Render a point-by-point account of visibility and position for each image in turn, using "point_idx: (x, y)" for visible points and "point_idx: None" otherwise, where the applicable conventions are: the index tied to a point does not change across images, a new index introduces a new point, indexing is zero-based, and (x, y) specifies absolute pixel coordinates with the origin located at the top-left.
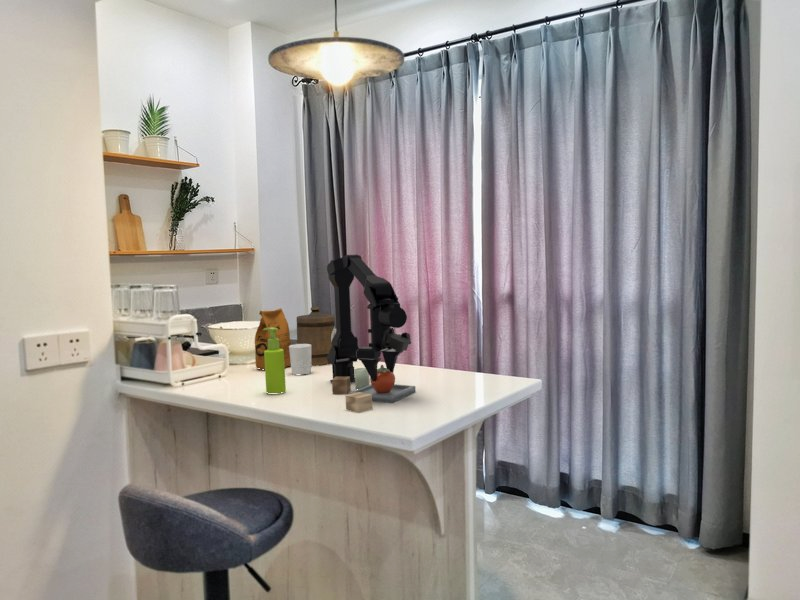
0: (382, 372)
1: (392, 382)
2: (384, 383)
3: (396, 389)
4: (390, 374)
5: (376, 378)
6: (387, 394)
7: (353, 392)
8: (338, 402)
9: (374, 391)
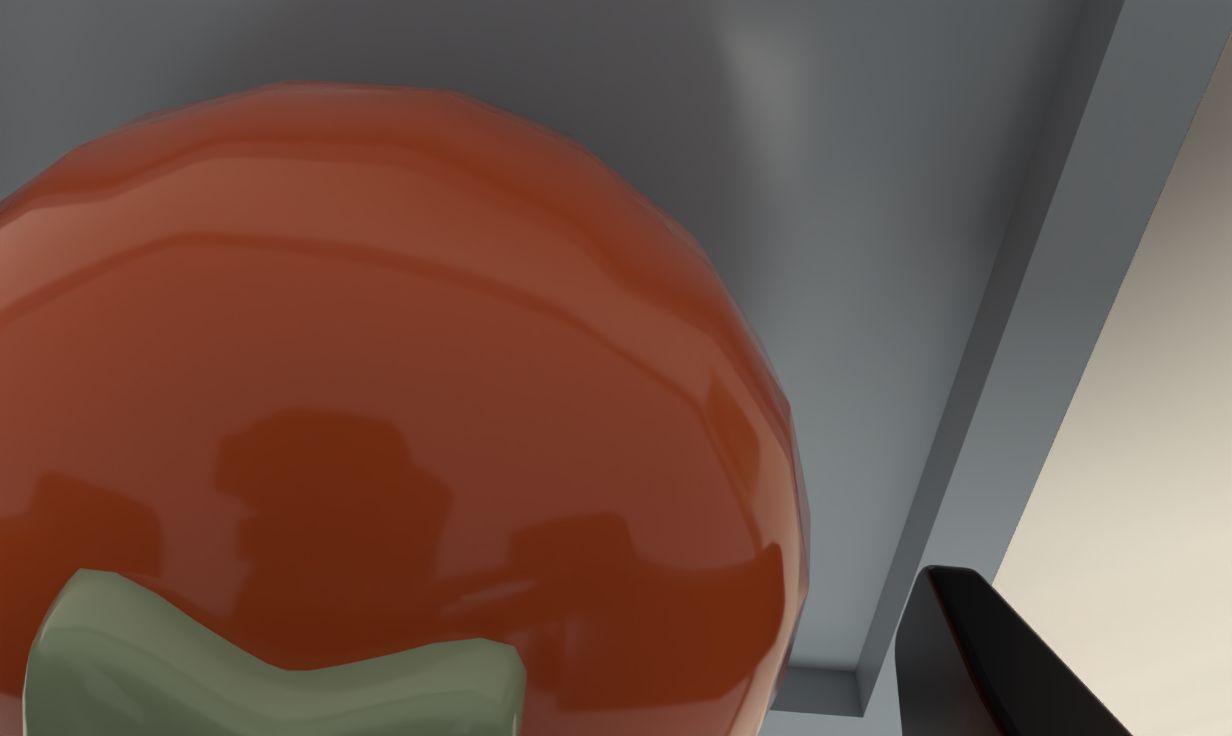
0: (531, 708)
1: (433, 101)
2: (728, 300)
3: (36, 83)
4: (357, 358)
5: (965, 624)
6: (688, 69)
7: (900, 720)
8: (1163, 712)
9: None
